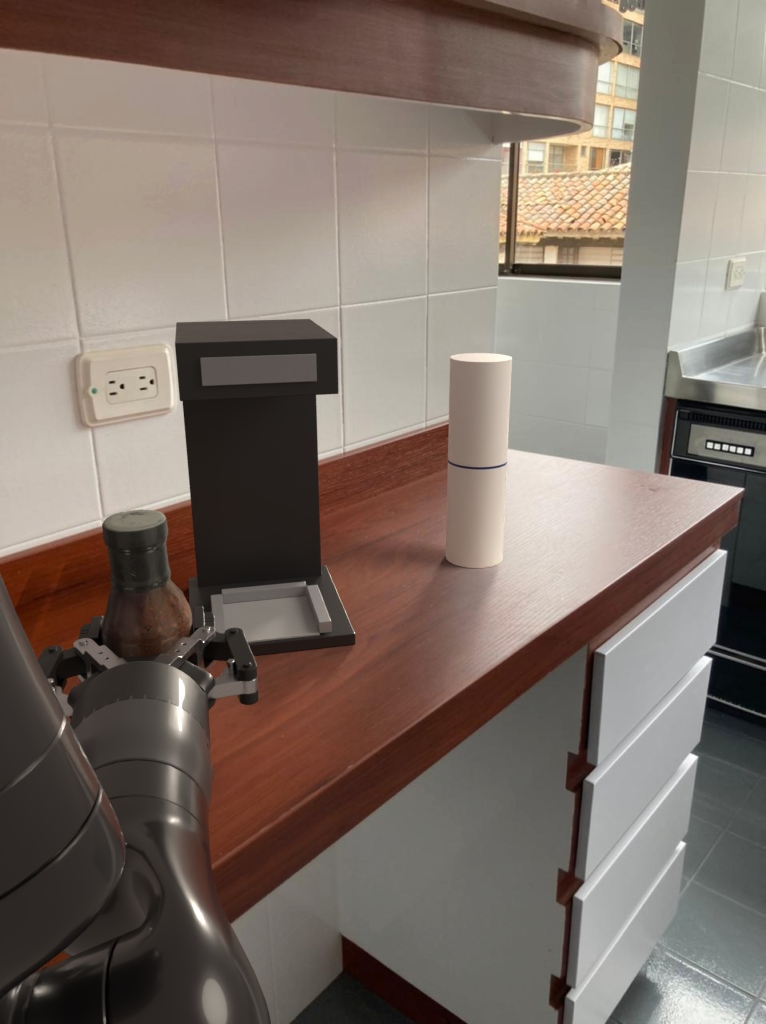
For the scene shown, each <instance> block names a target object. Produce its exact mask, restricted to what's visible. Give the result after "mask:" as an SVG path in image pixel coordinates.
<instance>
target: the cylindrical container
mask: <svg viewBox="0 0 766 1024" xmlns="http://www.w3.org/2000/svg"><path fill="white" fill-rule="evenodd" d="M512 367H513V357H512V356H511V355H507V354H502V353H492V352H467V353H457V354H453V355H450V357H449V387H448V388H449V393H448V394H449V396H448V433H447V434H448V435H447V438H448V439H447V475H446V478H447V479H446V522H445V525H446V526H445V559H446V561H448V562H449V563H451V564H452V565H454V566H458V567H462V568H468V569H487V568H491V567H494V566H495V567H496V566H497V565H499V564H501V562H502V561H503V557H504V537H505V535H504V534H505V517H506V516H505V515H506V495H507V474H508V473H507V472H508V456H509V455H508V453H509V429H510V413H511V412H510V411H511V391H512V389H511V387H512V371H513V369H512Z"/></svg>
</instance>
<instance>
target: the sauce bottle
mask: <svg viewBox="0 0 766 1024" xmlns="http://www.w3.org/2000/svg"><path fill="white" fill-rule="evenodd" d="M101 528H102V539H103V543H104V545H105V547H106V548H107V553H108V561H109V566H110V583H111V585H110V590H109V594H108V598H107V603H106V608H105V613H104V616H103V618H104V621H103V625H102V629H101V633H100V643H101V646H102V645H105V646H107V647H108V648H109V649H110V650H111V651H112V652H113V653H114V654H115V655H116V656H118V657H119V658H122V657H131V656H135V657H145V656H149V655H154V654H159V653H166V652H167V651H168V650H169V649H170V648H171V647H172V646H173V645H174V644H175V643H176V642H177V641H178V640H179V639H181V638H182V637H190V636H191V635H192V634H193V633H194V632H193V624H192V613H191V609H190V606H189V601H188V600H187V598H186V596H185V594H184V592H183V591H182V590H181V589H180V588H179V587H178V586H177V585H176V584H175V582H174V581H172V580H171V574H172V572H171V571H172V570H171V567H170V563H169V554H168V548H167V540H168V536H169V525H168V520H167V517H166V515H165V514H164V513H163V512H161V511H158V510H155V509H144V508H143V509H133V510H127V511H121V512H120V511H119V512H117V513H113V514H111V515H109V516H107V517H106V518H105V519H104V521H103V522H102V523H101Z"/></svg>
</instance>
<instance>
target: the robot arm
mask: <svg viewBox="0 0 766 1024" xmlns="http://www.w3.org/2000/svg"><path fill="white" fill-rule="evenodd" d="M103 621H104V615H95V616H93V615H92V617H91V621H90V622H89V623H84V624H83V625H82V626H81V627H80V631H79V635H78V638H77V640H75V641H74V642H73V643H72V645H73V646H72V647H70V648H67V649H64V648H63V647H62V646H61V645H50V646H47V647H45V648H44V649H42V651H41V653H40V655H39V656H38V657H37V655H36V653H35V650H34V648H33V646H32V644H31V641H30V640H29V637H28V636H27V634H26V631H25V629H24V627H23V624H22V622H21V620H20V618H19V616H18V614H17V612H16V608H15V607H14V604H13V601H12V599H11V597H10V594H9V591H8V589H7V586H6V584H5V581H4V578H3V576H2V574H1V573H0V1024H272V1022H271V1021H272V1020H271V1015H270V1010H269V1007H268V1003H267V1000H266V997H265V994H264V992H263V990H262V986H261V984H260V982H259V979H258V976H257V974H256V972H255V970H254V968H253V966H252V963H251V962H250V959H249V957H248V956H247V954H246V952H245V950H244V949H245V948H244V947H243V945H242V944H241V942H240V940H239V938H238V936H237V934H236V931H235V930H234V928H233V926H232V924H231V922H230V920H229V918H228V916H227V914H226V912H225V909H224V906H223V903H222V901H221V898H220V895H219V893H218V888H217V886H216V881H215V877H214V872H213V866H212V855H211V844H210V842H211V839H210V821H209V820H210V819H209V817H210V807H211V801H212V794H213V781H214V773H215V771H214V765H213V763H212V748H211V746H212V745H211V729H210V728H211V727H210V713H209V712H210V710H211V709H212V708H213V707H214V705H215V704H216V702H217V700H218V699H223V698H230V697H235V696H237V698H238V701H239V703H240V704H241V705H243V706H244V705H245V706H252V705H255V704H256V703H258V702H259V700H260V694H259V693H260V692H259V675H258V663H257V661H256V659H255V656H253V654H252V651H251V649H250V646H249V644H248V642H247V639H246V637H245V634H244V632H243V630H242V629H241V628H229V629H227V630H226V631H225V634H224V633H219V632H217V631H216V630H215V620H214V614H213V613H212V612H204V608H203V606H200V607H194V633H193V634H192V635H191V636H190V637H182V638H181V639H179V640H178V641H177V642H176V643H175V644H174V645H173V646H172V647H171V648H170V649H169V650H168V651H167V652H166V653H159V654H154V655H149V656H145V657H135V656H131V657H122V658H119V657H118V656H116V655H115V654H114V653H113V652H112V651H111V650H110V649H109V648H108V647H107V646H105V645H102V646H101V643H100V633H101V629H102V625H103ZM219 661H220V662H226V667H224V668H223V669H222V670H221V674H220V675H219V676H217V677H214V676H213V674H212V673H210V672H211V670H212V669H214V667H215V666H216V665H217V663H218V662H219ZM73 677H77V679H78V680H79V681H80V683H78V684H77V685H75V686H74V687H72V689H71V690H70V691H69V693H68V694H66V693H63V692H64V690H65V688H66V686H67V684H68V679H70V678H73ZM68 717H69V719H70V721H69V719H68ZM61 953H63V954H65V955H66V956H67V958H64V959H62V960H60V961H58V962H56V963H55V962H54V963H53V964H51V965H47V964H48V963H49V962H51V961H52V960H54V959H55V958H56V957H57V956H59V955H60V954H61ZM45 965H47V966H45Z"/></svg>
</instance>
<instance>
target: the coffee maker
mask: <svg viewBox="0 0 766 1024" xmlns="http://www.w3.org/2000/svg"><path fill="white" fill-rule="evenodd" d="M174 347H175V349H174V350H175V361H176V373H177V374H176V375H177V382H178V384H177V385H178V397H179V402H182V413H183V425H184V438H185V448H186V458H187V459H186V460H187V461H186V462H187V473H188V480H189V481H188V484H189V495H190V507H191V519H192V531H193V532H192V533H193V542H194V543H193V544H194V555H195V568H196V576H193V577H188V604H189V606H190V609H191V613H192V624H193V632H194V607H200V606H203V608H204V612H212V613H213V614H214V620H215V630H216V631H217V632H219V633H224V634H225V631H226V630H227V629H229V628H241V629H242V630H243V632H244V634H245V637H246V639H247V642H248V644H249V646H250V649H251V651H252V654H253V656H254V657H255V656H256V657H257V656H264V655H273V654H281V653H290V652H300V651H307V650H308V651H309V650H316V649H324V648H325V649H327V648H335V647H343V646H344V647H345V646H352V645H356V632H355V630H354V627H353V625H352V623H351V621H350V618H349V616H348V614H347V611H346V609H345V607H344V604H343V602H342V600H341V599H342V598H340V595H339V593H338V590H337V588H336V586H335V583H334V581H333V578H332V576H331V573H330V572H329V569H328V567H327V565H324V564H323V565H322V546H321V545H322V544H321V541H322V540H321V512H320V509H321V508H320V507H321V506H320V480H319V479H320V476H319V446H318V445H319V442H318V441H319V440H318V411H317V410H318V409H317V408H318V405H317V396H322V395H339V390H340V389H339V350H338V349H339V348H338V347H339V346H338V337H337V336H335V335H333V334H332V333H331V332H329V331H327V330H326V329H325V328H323V326H320V325H319V324H317V323H316V322H315V321H313V320H312V319H310V318H294V319H293V318H289V319H288V318H287V319H255V320H254V319H253V320H215V321H214V320H212V321H177V322H176V323H175V338H174Z"/></svg>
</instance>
